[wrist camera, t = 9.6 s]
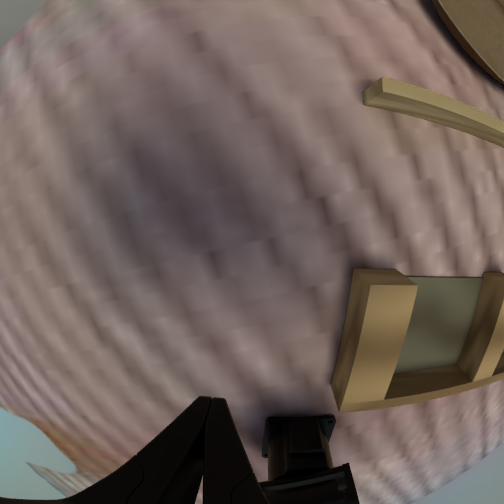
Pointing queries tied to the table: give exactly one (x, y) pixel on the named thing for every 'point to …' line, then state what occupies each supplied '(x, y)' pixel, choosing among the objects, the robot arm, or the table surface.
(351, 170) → the table surface
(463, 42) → the plant saucer
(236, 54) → the table surface
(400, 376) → the compartment box
